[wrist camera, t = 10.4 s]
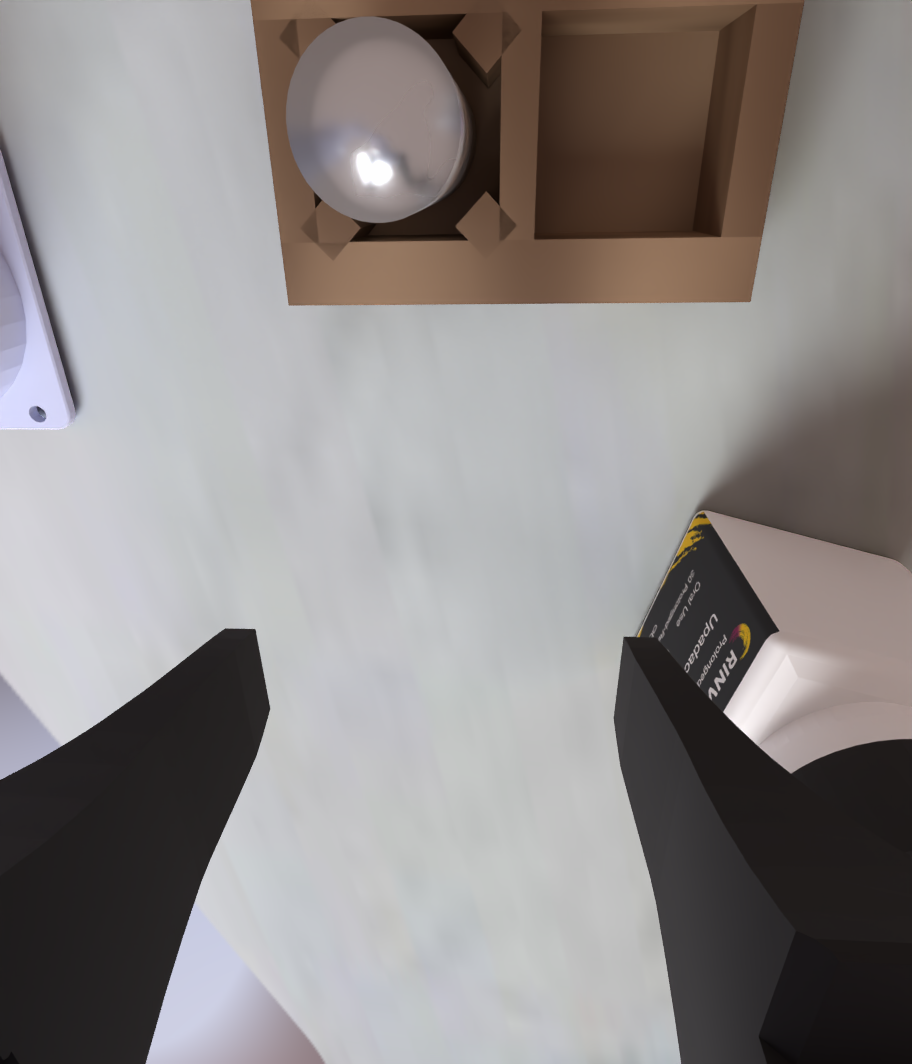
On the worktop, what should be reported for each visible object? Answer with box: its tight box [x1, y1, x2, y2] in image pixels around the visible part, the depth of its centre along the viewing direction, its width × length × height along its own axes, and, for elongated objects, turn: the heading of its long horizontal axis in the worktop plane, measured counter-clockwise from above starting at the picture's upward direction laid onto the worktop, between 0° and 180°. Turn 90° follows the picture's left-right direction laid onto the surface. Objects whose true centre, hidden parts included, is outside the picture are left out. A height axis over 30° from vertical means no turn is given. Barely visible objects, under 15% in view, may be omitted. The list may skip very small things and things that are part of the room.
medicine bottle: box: [637, 510, 912, 857], centre depth 18 cm, size 7×7×12 cm
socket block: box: [251, 0, 804, 305], centre depth 16 cm, size 11×7×3 cm, turn 91°
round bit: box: [286, 16, 476, 223], centre depth 14 cm, size 3×3×6 cm
